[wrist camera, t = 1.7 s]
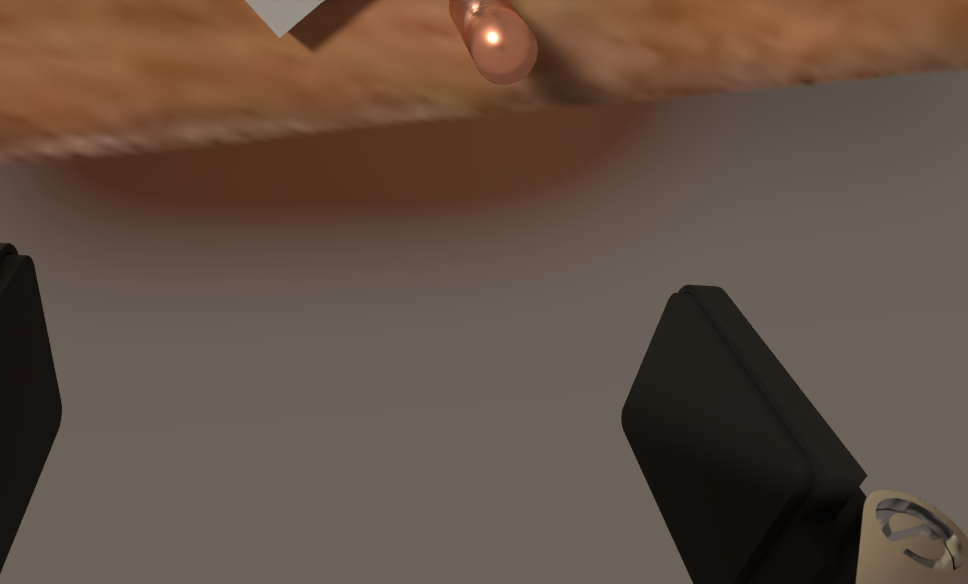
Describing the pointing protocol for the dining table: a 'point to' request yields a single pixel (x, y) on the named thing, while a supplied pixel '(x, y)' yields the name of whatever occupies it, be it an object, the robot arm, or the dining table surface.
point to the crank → (495, 38)
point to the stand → (283, 12)
